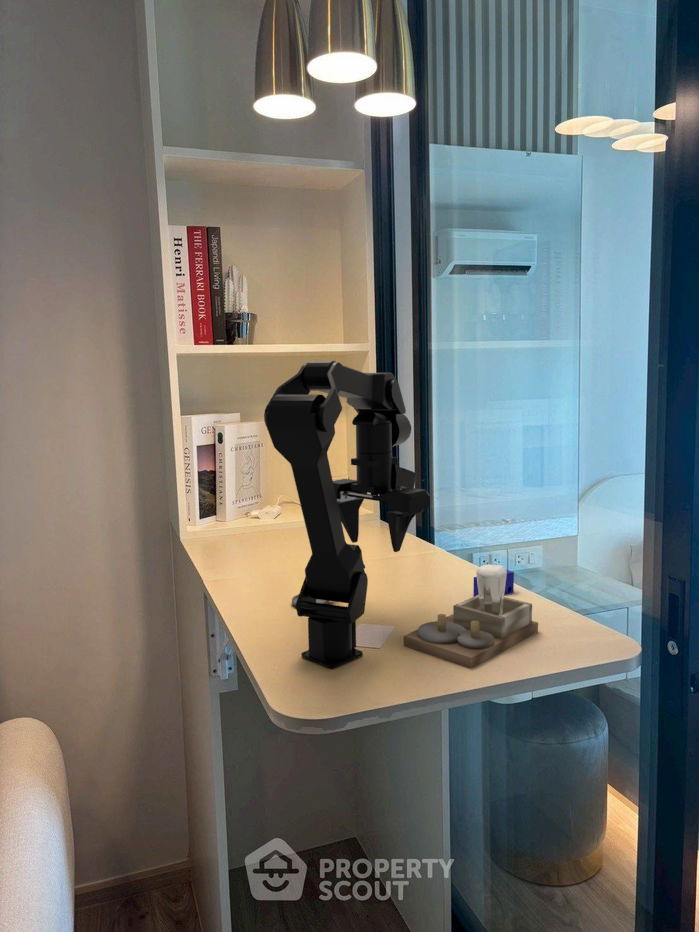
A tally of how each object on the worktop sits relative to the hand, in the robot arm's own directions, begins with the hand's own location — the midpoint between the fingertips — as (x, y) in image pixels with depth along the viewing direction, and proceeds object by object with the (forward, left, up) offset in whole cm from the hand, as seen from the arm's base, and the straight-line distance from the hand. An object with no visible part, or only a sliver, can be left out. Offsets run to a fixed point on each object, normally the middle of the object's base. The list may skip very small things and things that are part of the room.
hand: (375, 546), depth 115 cm
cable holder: (+23, -8, -12) cm, 27 cm away
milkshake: (+7, -18, -10) cm, 22 cm away
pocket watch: (-2, +12, -12) cm, 17 cm away
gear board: (+3, -17, -12) cm, 21 cm away
